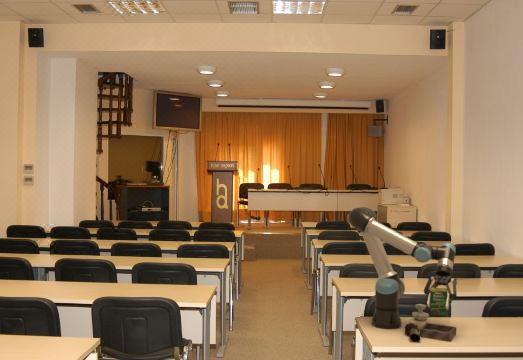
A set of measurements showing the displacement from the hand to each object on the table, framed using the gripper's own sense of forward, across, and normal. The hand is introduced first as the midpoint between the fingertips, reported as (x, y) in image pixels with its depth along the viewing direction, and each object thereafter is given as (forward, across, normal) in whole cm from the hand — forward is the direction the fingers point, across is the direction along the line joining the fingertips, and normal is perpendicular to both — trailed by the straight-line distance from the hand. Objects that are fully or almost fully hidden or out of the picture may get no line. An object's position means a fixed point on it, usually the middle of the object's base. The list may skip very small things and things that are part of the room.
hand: (437, 306), depth 241 cm
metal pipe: (+15, +10, -6) cm, 19 cm away
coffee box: (+1, 0, -6) cm, 6 cm away
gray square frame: (+8, 0, -13) cm, 15 cm away
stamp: (-10, +16, -31) cm, 36 cm away
